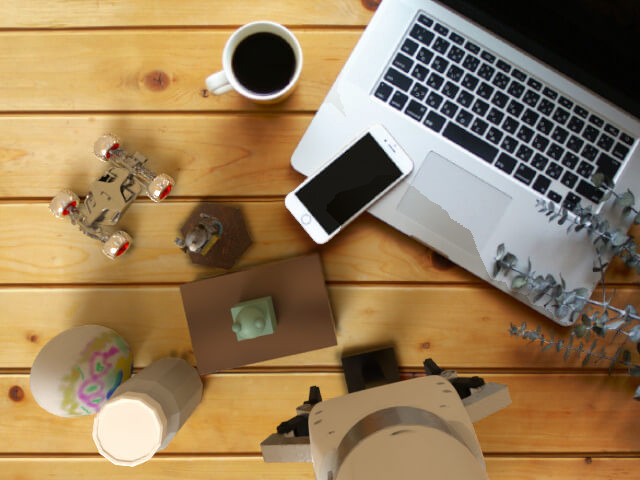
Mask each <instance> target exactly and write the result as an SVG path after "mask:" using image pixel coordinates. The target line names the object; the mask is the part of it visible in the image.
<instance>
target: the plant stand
mask: <svg viewBox="0 0 640 480" xmlns="http://www.w3.org/2000/svg"><path fill="white" fill-rule="evenodd" d="M340 362H341V366H342V370H343V374H344V379H345V384H346V388H347V392H348V393H347V394H350V393H354V392H358V391H362V390H367V389H371V388H375V387H379V386H383V385H388V384H392V383H396V382H401V381H402V379H401V378H402V377H401V374H400V370H399V365H398V364H399V363H398V361H397V355H396V351H395V346H394V345H393V344H390V345H385V346H381V347H377V348H372V349H368V350H362V351H359V352H354V353H350V354H344V355H340Z"/></svg>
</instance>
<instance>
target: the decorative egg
mask: <svg viewBox="0 0 640 480" xmlns="http://www.w3.org/2000/svg"><path fill="white" fill-rule="evenodd" d="M133 372H134V357H133V352H132V349H131V348H130V346H129V343H128V341H126V339H125V338H124V337H123V336H122V335H121V334H120V333H118V332H116V331H115V330H113V329H111V328H109V327H106V326H103V325H99V324H82V325H81V324H80V325H77V326H74V327H70V328H68V329H65V330H63V331H61V332H59V333H57V334H56V335H55V336H53V337H52V338H51V339H50V340H49V341H47V342H46V343H45V345H44V346H43V347H42V348H41V349H40V350H39V351H38V353H37V355H36V356H35V359H34V360H33V363H32V365H31V367H30V371H29V389H30V393H31V394H32V396H33V399H34V400H35V402H36V403H37V405H38V406H39V407H41V408H42V409H43V410H44V411H46V412H48V413H50V414H52V415H55V416H57V417H61V418H66V419H67V418H68V419H69V418H70V419H71V418H72V419H73V418H74V419H75V418H84V417H88V416H92V415H95V414H98V412H99V411H100V410H101V408H102V407H103V406H104V404H105V403H106V402H107V401H108V399H109V398H110V397H111V395H112V394H113V393H114V391H115V390H116V389H117V387H118V386H120V385H121V384H123V383H124V382H125V381H127V380H128V379H130V378H131V377H132V376H133Z"/></svg>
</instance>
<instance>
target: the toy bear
mask: <svg viewBox="0 0 640 480" xmlns="http://www.w3.org/2000/svg"><path fill="white" fill-rule="evenodd" d="M231 312H232V316H233V321H234V324H233V325H232V330H233V331H234V332H236V334H237V339H238V341H240V340H244V339H252V338H256V337H258V336H263V335H267V334H272V333H274V331H275V330H276V328H277V326H278V325H277V321H276V316H275V312H274V307H273V303H272V298H271V296H268V297H263V298H259V299H254V300H250V301H245V302H241V303H238V304H236V305H235V306H234V307H232V308H231Z"/></svg>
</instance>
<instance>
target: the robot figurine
mask: <svg viewBox="0 0 640 480" xmlns="http://www.w3.org/2000/svg"><path fill="white" fill-rule="evenodd" d="M180 234H181V236H182V239H181V238H180V237H178V236H176V237H175V239H174V240H173V242H174V243H175V244H176V245H177V246H178V247H181V248H179V250H181V252H183V253H184V254H187V253H188V255H189V258H190V261H191V264H192V265H198V266H204V267H208V268H215V269H219V270H220V269H221V270H225V271H229V270H231V268H232V267H233V266H234V264H236V262H238V260H239V258H240V257H241V256H242V255H243V254H244V253H245V252H246V250H247V249H248V248H249V247H250V245H251V244H253V241H252V238H251V235H250V233H249V230H248V227H247V224H246V222H245V219H244V216H243V213H242V210H241V208H239V207H233V206H227V205H222V204H217V203H212V202H206V201H203V202H201V204H200V205H199V206H198V207H197V208H196V210H195V212H193V214H192V215H191V216H190V217H189V218H188V220H187V221H186V222H185V223H184V224H183V226H182V227H181V228H180Z"/></svg>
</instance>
